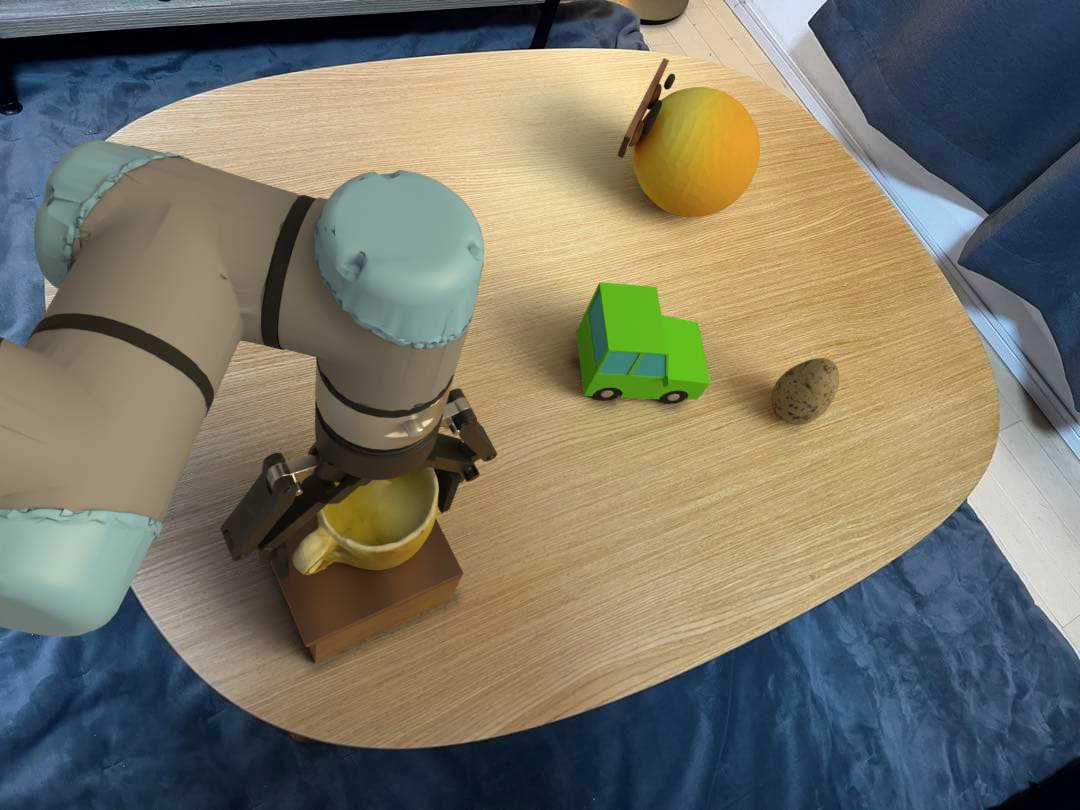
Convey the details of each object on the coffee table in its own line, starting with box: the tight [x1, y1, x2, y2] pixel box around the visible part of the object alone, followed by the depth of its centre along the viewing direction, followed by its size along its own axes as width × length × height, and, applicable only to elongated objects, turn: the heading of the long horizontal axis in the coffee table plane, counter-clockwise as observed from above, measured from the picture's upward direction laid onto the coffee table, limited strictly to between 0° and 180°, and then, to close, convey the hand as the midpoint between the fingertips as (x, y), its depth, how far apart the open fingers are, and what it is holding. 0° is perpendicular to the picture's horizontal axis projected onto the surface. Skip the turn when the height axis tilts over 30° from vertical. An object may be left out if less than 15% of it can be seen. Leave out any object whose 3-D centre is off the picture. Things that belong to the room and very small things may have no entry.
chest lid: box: [269, 514, 464, 648], centre depth 69 cm, size 13×13×1 cm
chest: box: [308, 577, 462, 664], centre depth 73 cm, size 13×13×7 cm
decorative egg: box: [770, 357, 840, 426], centre depth 91 cm, size 6×6×10 cm
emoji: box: [616, 57, 761, 218], centre depth 102 cm, size 16×16×15 cm
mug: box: [292, 467, 439, 575], centre depth 66 cm, size 12×10×10 cm
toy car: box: [575, 281, 711, 405], centre depth 89 cm, size 10×13×10 cm
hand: (361, 529), depth 68 cm, fingers open, 13 cm apart
